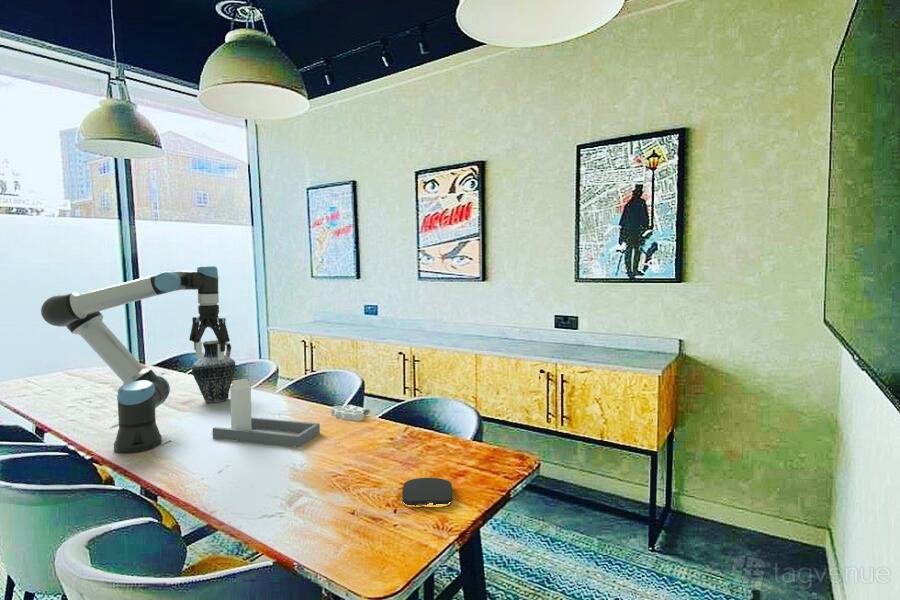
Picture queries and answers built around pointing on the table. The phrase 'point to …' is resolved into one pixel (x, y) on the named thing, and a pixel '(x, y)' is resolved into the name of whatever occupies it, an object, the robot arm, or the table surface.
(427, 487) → the media streaming box
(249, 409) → the milk
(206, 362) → the jug
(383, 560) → the table surface
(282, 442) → the tray
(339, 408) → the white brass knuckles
